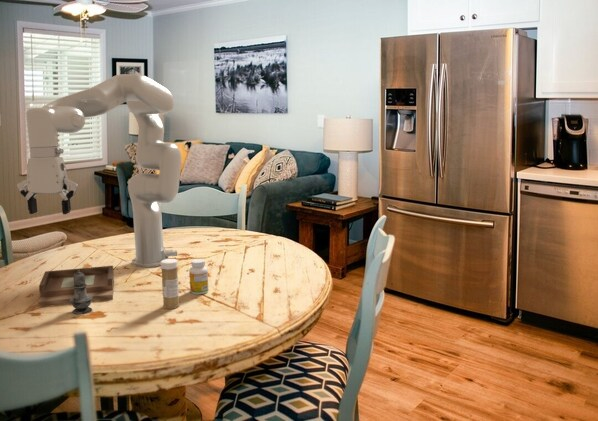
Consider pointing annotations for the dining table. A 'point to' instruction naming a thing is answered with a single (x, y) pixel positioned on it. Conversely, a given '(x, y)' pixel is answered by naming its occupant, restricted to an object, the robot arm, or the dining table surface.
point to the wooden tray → (60, 284)
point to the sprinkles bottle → (170, 283)
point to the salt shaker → (80, 295)
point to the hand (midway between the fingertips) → (49, 213)
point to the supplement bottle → (198, 277)
